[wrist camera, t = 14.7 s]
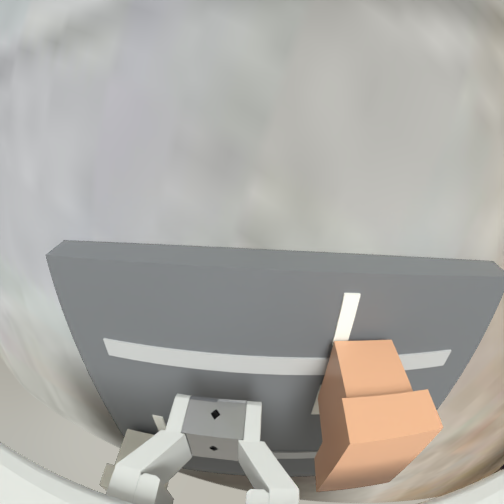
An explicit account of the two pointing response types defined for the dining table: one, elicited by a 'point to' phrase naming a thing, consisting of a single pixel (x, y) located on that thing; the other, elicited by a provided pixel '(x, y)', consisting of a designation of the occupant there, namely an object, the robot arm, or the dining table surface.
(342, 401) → the terracotta fader
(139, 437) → the cream fader
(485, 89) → the dining table surface
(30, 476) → the robot arm
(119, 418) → the console
